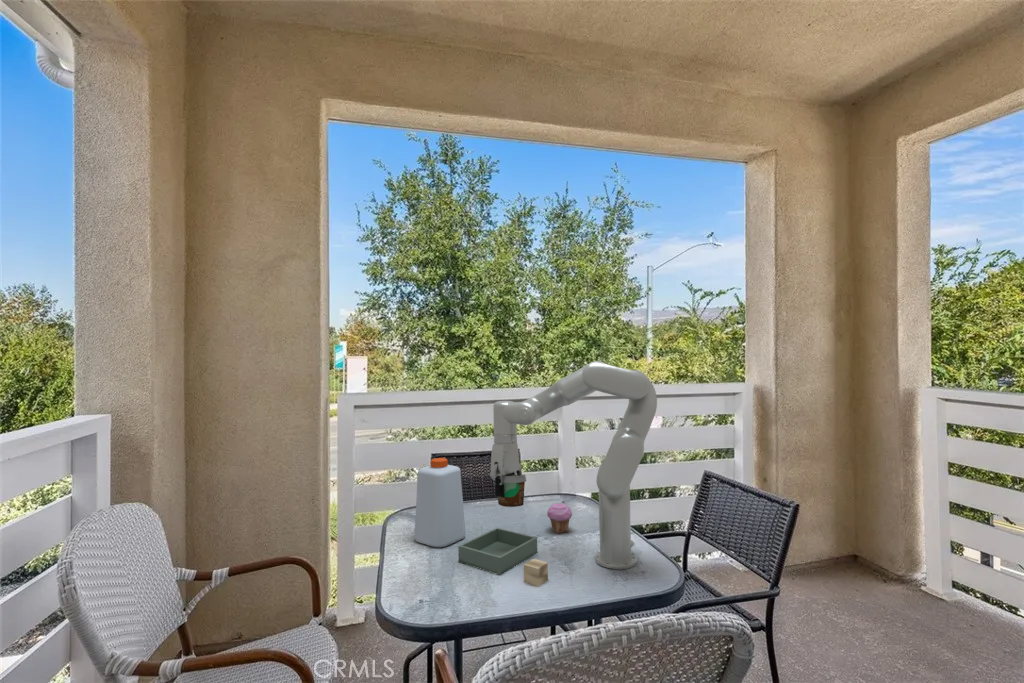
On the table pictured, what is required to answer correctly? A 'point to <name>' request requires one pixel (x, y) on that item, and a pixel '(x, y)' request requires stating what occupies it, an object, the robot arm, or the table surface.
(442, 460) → the plastic bottle
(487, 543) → the tote
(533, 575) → the maple block
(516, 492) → the food container
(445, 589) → the table surface
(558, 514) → the cupcake
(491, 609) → the table surface
